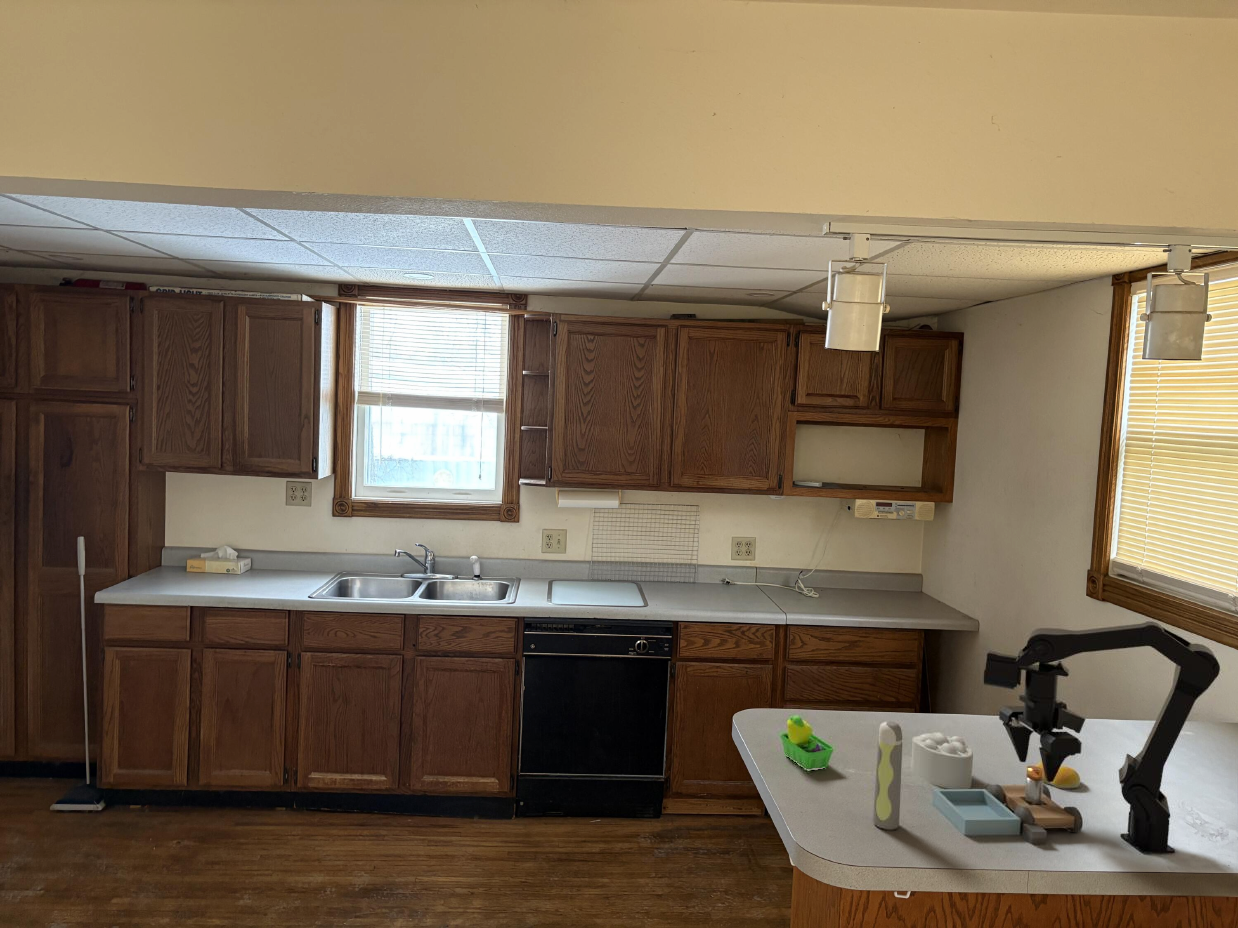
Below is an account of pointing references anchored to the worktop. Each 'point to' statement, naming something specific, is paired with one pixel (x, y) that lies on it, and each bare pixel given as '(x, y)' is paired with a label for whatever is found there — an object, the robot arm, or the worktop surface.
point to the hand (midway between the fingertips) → (1035, 771)
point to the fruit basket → (805, 745)
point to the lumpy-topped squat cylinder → (942, 760)
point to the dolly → (1036, 812)
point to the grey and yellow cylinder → (888, 776)
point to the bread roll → (1063, 778)
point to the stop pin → (1034, 785)
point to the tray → (976, 812)
